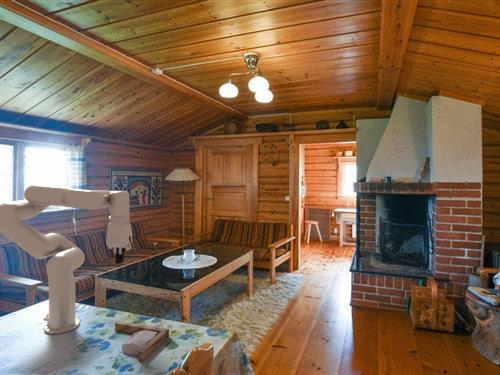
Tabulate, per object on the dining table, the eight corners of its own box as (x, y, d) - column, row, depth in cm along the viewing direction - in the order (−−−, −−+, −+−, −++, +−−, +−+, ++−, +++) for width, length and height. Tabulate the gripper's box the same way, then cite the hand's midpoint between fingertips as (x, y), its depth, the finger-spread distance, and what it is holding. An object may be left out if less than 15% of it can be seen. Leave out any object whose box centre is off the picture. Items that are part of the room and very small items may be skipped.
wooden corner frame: (86, 349, 111) (86, 341, 110) (118, 328, 127) (118, 321, 127) (143, 360, 104) (143, 352, 104) (168, 336, 120) (169, 329, 120)
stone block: (119, 358, 109) (145, 356, 107) (117, 345, 109) (143, 342, 107) (137, 342, 120) (160, 339, 119) (135, 330, 121) (158, 327, 119)
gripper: (98, 220, 127) (98, 263, 127) (129, 222, 123) (128, 266, 123) (111, 218, 134) (111, 259, 134) (140, 219, 130) (140, 262, 130)
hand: (119, 262), depth 129 cm, fingers closed
